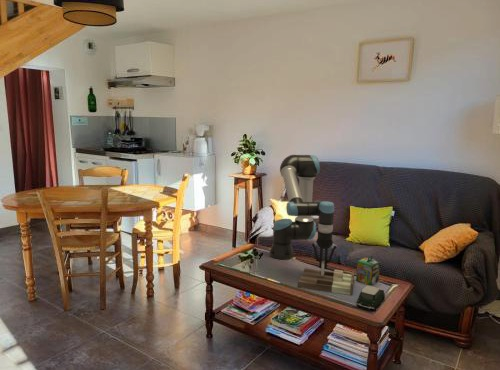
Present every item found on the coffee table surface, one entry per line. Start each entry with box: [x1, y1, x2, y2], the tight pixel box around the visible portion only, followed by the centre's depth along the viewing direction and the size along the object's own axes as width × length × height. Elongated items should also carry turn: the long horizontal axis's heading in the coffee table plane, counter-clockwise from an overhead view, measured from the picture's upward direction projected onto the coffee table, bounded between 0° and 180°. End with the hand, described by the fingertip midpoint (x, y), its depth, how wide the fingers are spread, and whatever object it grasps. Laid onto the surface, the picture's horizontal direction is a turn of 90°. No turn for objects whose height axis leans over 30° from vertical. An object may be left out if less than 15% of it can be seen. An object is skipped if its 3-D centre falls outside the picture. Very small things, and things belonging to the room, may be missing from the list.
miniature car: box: [355, 285, 386, 312], centre depth 181 cm, size 9×18×8 cm, turn 145°
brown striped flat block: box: [297, 268, 356, 296], centre depth 202 cm, size 20×27×6 cm
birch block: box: [333, 269, 344, 282], centre depth 200 cm, size 4×4×4 cm
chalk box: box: [355, 254, 381, 286], centre depth 207 cm, size 9×9×15 cm
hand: (322, 274), depth 203 cm, fingers closed
